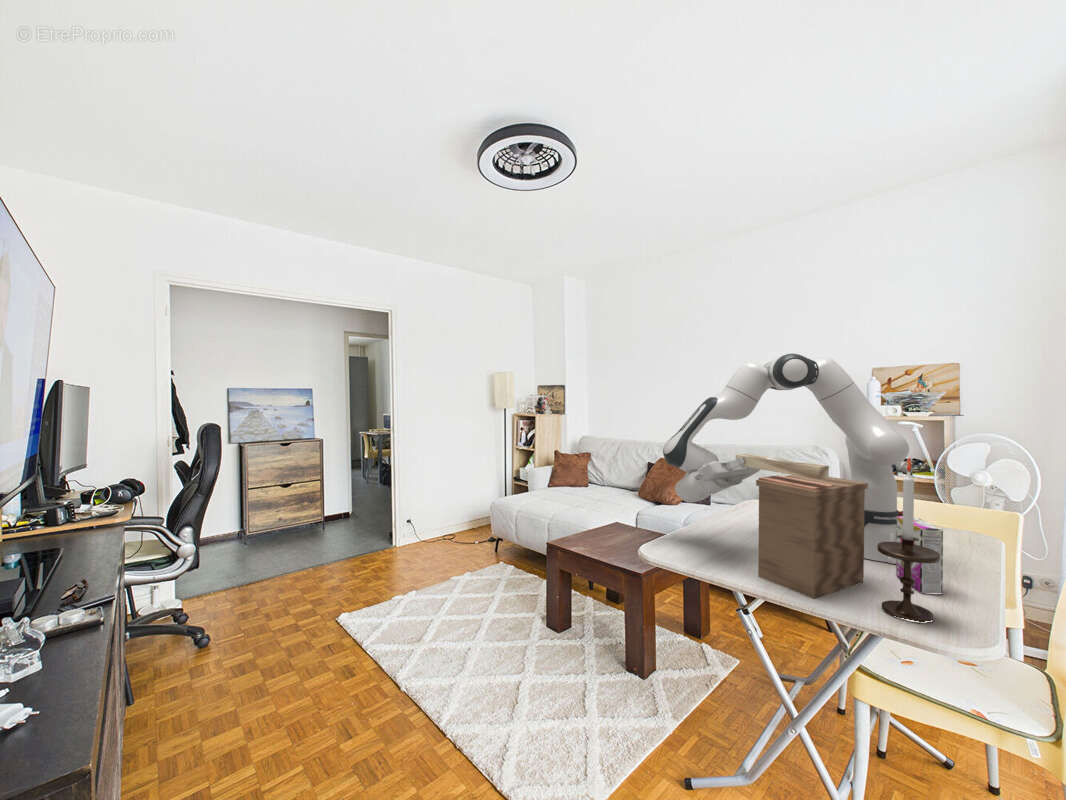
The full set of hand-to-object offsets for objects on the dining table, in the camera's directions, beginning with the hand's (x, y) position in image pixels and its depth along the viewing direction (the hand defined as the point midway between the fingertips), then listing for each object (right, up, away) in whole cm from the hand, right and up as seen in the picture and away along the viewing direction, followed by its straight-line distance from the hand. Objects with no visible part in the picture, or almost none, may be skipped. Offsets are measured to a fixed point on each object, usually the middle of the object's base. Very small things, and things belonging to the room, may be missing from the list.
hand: (750, 459), depth 132 cm
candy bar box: (+37, -31, -13) cm, 50 cm away
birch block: (+4, -2, -8) cm, 9 cm away
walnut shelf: (+12, -31, -9) cm, 34 cm away
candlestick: (+22, -31, -28) cm, 47 cm away
